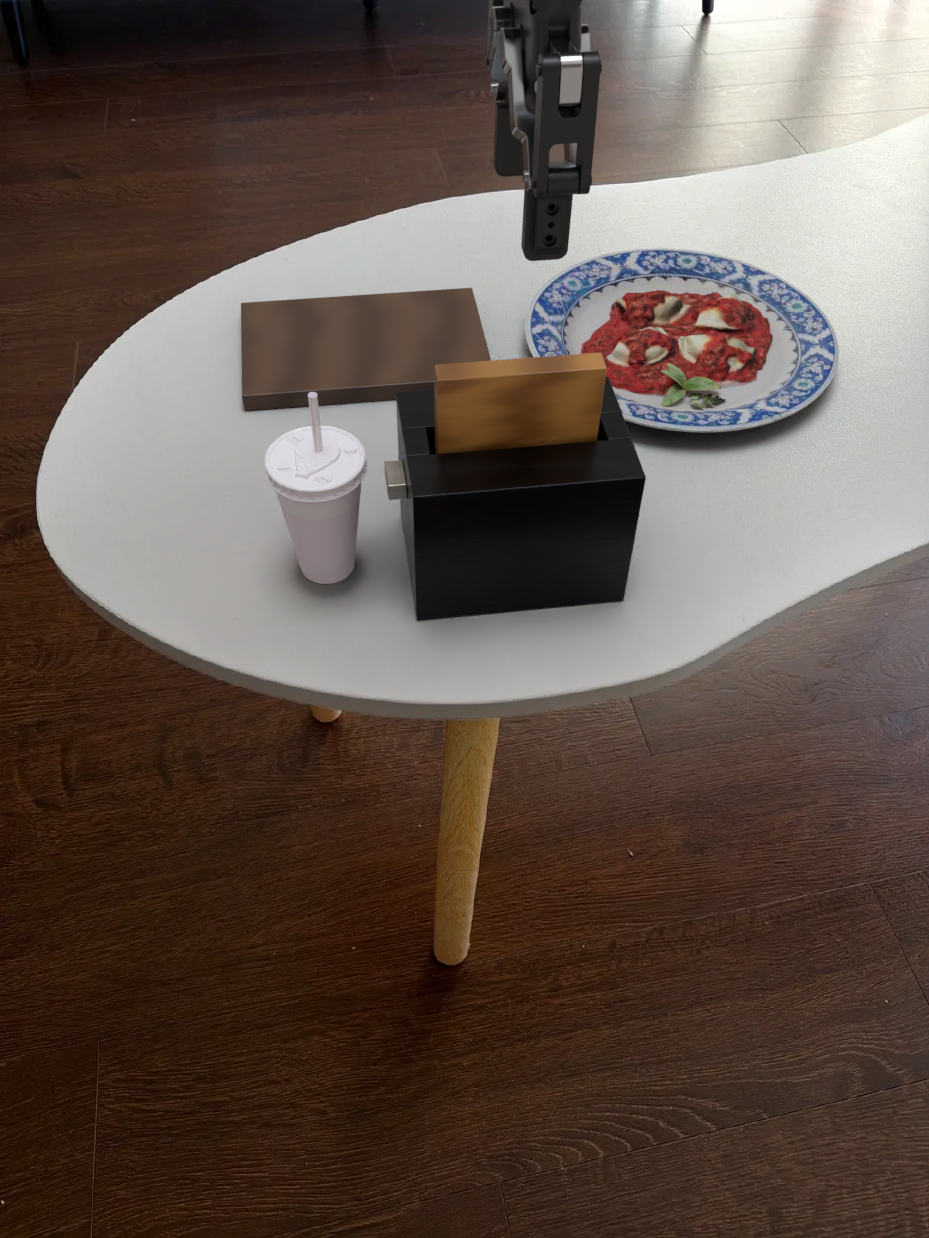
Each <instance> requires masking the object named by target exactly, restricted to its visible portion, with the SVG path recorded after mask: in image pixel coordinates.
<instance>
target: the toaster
mask: <svg viewBox="0 0 929 1238" xmlns="http://www.w3.org/2000/svg"><path fill="white" fill-rule="evenodd" d="M395 401H396V403H395V404H396V406H395V407H396V427H397V429H396V430H397V451H398V460H387V461H386V460H385V461H384V463H383V465H384V478H385V485H386V493H387V499H388V500H389V501H393V500H400V504H399V505H400V519H401V527H402V532H403V539H404V546H405V553H406V560H407V567H408V574H409V580H410V586H411V593H412V599H413V608H414V612H415V614H414V615H415V620H416V621H417V622H418V621H429V620H438V619H449V618H458V617H468V616H478V615H489V614H500V613H511V612H519V611H530V610H542V609H551V608H561V607H571V606H573V607H574V606H583V605H592V604H603V603H604V604H605V603H613V602H623V601H624V599H625V594H626V589H627V583H628V579H629V572H630V569H631V562H632V558H633V557H632V556H633V551H634V545H635V540H636V534H637V530H638V529H637V528H638V523H639V518H640V513H641V506H642V501H643V497H644V491H645V485H646V479H647V476H646V473H645V471H644V469H643V465H642V463H641V460H640V458H639V455H638V452H637V450H636V447H635V445H634V442H633V438H632V436H631V433H630V431H629V428H628V425H627V423H626V421H625V420H624V417H623V415H622V412H621V409H620V406H619V404H618V401H617V398H616V395H615V393H614V390H613V387H612V385H611V382H610V379H609V377H606V378H605V385H604V393H603V400H602V408H601V415H600V423H599V430H598V437H597V441H591V442H579V443H567V444H554V445H542V446H530V447H518V448H505V449H493V450H481V451H468V452H456V453H444V454H435V390H424V391H411V392H398V393H396V399H395Z"/></svg>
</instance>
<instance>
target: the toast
mask: <svg viewBox="0 0 929 1238" xmlns="http://www.w3.org/2000/svg"><path fill="white" fill-rule="evenodd" d="M606 371H607V368H606V365H605V362H604V360H603V357H602V354H601V353H588V354H574V355H560V356H547V357H519V358H507V359H494V360H492V359H491V361H478V362H464V363H451V364H437V365H435V366H434V380H435V454H444V453H456V452H468V451H481V450H493V449H505V448H518V447H530V446H542V445H554V444H567V443H579V442H591V441H597V437H598V430H599V423H600V415H601V408H602V400H603V393H604V385H605V378H606Z"/></svg>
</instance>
